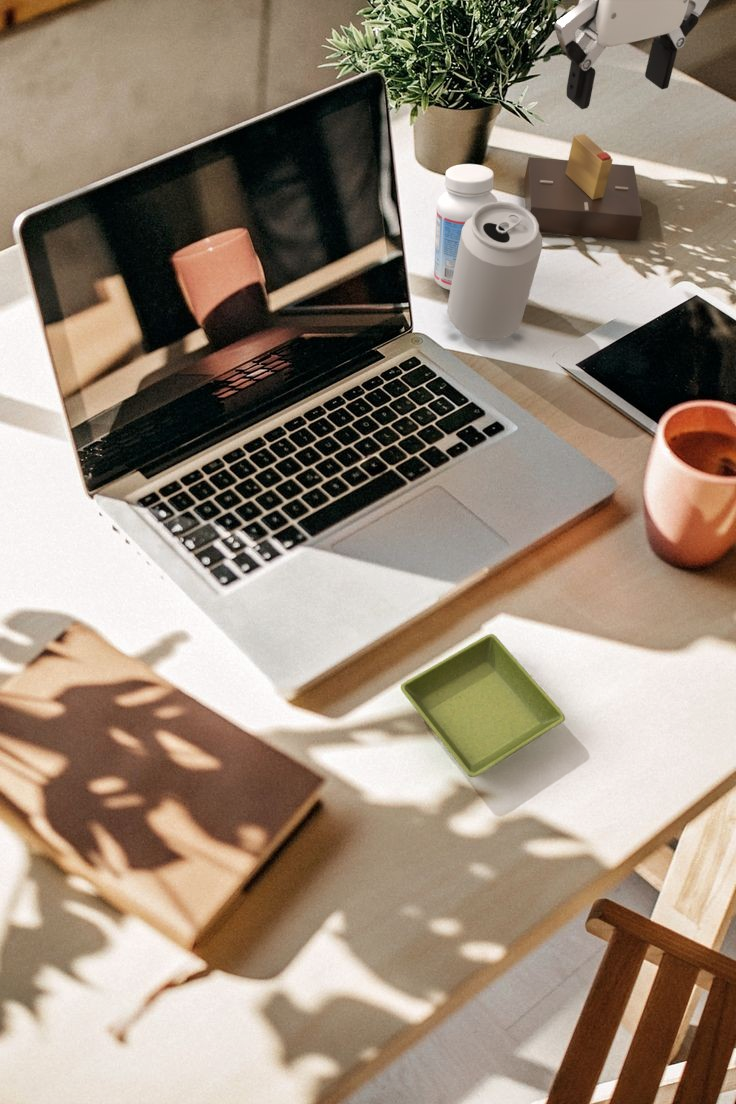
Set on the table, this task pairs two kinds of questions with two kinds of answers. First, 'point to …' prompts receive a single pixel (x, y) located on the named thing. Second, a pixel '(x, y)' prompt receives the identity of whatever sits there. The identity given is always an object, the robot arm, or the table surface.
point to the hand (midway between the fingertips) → (617, 92)
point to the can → (494, 270)
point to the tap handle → (588, 166)
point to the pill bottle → (458, 213)
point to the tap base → (582, 201)
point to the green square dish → (482, 704)
